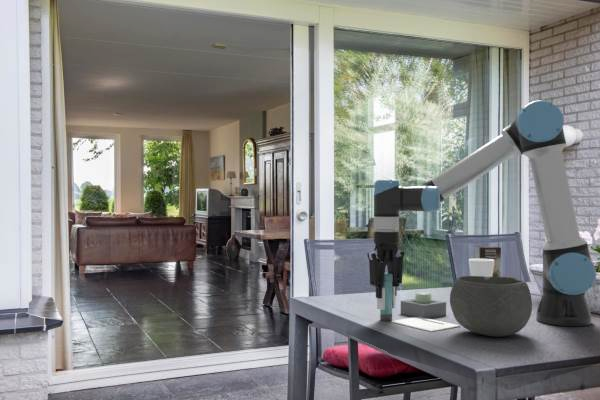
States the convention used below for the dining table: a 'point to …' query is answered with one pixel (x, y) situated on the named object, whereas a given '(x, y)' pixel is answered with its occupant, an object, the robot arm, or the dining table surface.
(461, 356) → the dining table surface
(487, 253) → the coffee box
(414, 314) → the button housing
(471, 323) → the bowl
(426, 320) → the paper
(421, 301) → the button
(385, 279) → the marker
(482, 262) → the foam cup
